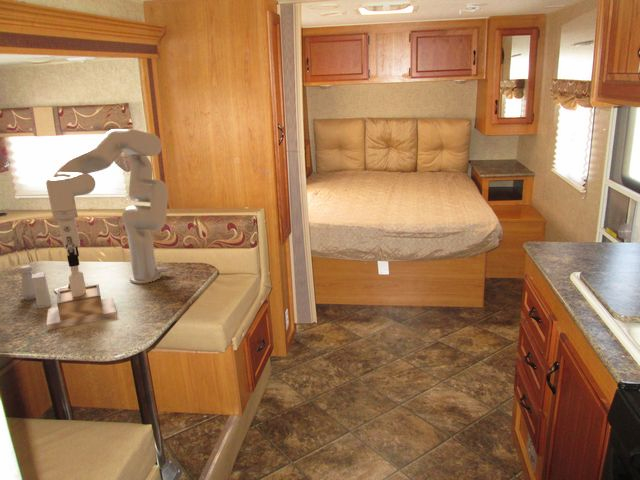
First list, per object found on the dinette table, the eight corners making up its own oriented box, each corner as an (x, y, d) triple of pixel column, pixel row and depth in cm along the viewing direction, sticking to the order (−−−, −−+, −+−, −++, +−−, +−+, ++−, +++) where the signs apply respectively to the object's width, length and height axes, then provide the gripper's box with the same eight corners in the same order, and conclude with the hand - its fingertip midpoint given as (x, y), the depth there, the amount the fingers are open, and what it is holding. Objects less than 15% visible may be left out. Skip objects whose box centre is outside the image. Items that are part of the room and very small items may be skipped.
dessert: (53, 292, 208) (51, 280, 206) (84, 283, 215) (82, 273, 214) (62, 300, 199) (60, 289, 198) (94, 292, 206) (92, 281, 205)
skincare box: (50, 306, 193) (45, 276, 189) (37, 309, 191) (31, 278, 187) (51, 300, 198) (45, 271, 194) (37, 303, 196) (31, 273, 192)
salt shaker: (32, 301, 198) (25, 269, 194) (19, 300, 199) (12, 268, 195) (42, 295, 203) (36, 264, 199) (30, 294, 204) (23, 263, 200)
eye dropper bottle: (68, 295, 182) (62, 263, 178) (83, 290, 186) (77, 259, 182) (74, 298, 179) (68, 266, 175) (90, 293, 183) (84, 261, 180)
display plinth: (113, 302, 195) (110, 281, 193) (116, 316, 183) (113, 294, 180) (49, 313, 186) (44, 292, 184) (47, 330, 174) (43, 306, 172)
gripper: (77, 218, 168) (86, 267, 173) (76, 206, 182) (85, 252, 188) (51, 222, 165) (62, 271, 170) (53, 209, 180) (62, 255, 185)
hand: (74, 261), depth 179 cm, fingers open, 9 cm apart
